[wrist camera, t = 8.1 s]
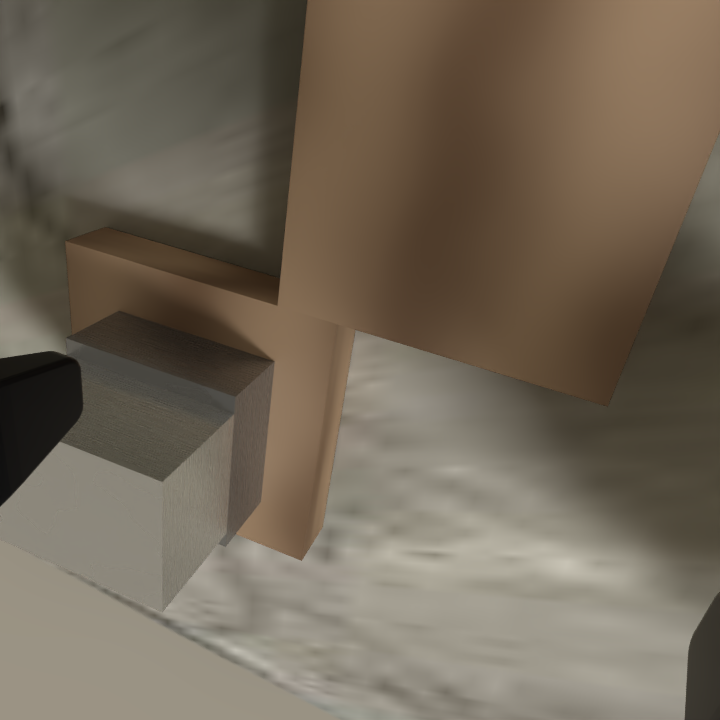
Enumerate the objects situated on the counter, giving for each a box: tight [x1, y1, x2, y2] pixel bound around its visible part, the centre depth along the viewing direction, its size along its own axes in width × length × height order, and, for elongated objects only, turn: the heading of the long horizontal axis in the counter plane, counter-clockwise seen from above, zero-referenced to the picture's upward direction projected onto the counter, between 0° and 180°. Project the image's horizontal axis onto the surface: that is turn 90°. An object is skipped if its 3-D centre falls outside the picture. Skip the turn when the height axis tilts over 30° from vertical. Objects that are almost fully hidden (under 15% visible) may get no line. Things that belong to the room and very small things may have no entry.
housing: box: [0, 311, 275, 612], centre depth 20 cm, size 6×6×6 cm
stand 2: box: [278, 0, 720, 407], centre depth 17 cm, size 10×10×2 cm
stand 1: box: [65, 227, 355, 561], centre depth 24 cm, size 10×10×2 cm
